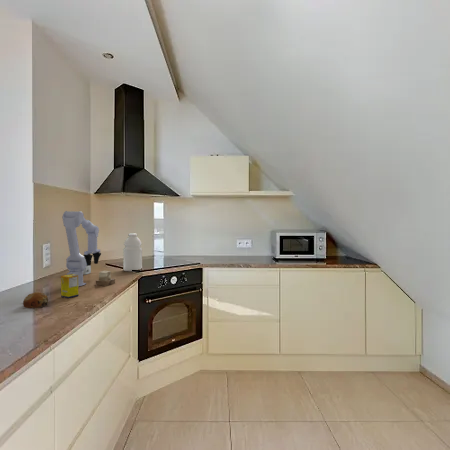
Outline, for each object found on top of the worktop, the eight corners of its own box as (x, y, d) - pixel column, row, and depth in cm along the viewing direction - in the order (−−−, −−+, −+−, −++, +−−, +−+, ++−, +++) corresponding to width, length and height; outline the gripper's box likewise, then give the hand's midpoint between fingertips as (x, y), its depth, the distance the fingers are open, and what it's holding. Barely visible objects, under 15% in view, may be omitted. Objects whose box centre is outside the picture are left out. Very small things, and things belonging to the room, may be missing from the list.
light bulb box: (91, 273, 234) (91, 258, 234) (86, 274, 228) (86, 259, 227) (77, 272, 235) (77, 257, 235) (71, 274, 229) (71, 259, 228)
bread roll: (45, 309, 155) (42, 293, 157) (53, 304, 149) (50, 287, 151) (21, 314, 147) (19, 297, 149) (29, 308, 141) (26, 291, 143)
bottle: (125, 272, 240) (125, 234, 239) (121, 269, 252) (121, 233, 251) (144, 270, 246) (144, 233, 246) (139, 268, 259) (139, 233, 258)
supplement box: (70, 294, 170) (70, 273, 170) (78, 296, 167) (78, 274, 167) (60, 297, 165) (60, 275, 165) (68, 298, 162) (68, 276, 162)
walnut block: (107, 286, 193) (107, 281, 193) (95, 285, 195) (95, 280, 194) (114, 283, 200) (115, 278, 200) (103, 282, 202) (103, 278, 202)
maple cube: (106, 280, 194) (106, 272, 194) (98, 280, 195) (98, 272, 195) (110, 279, 199) (110, 271, 199) (103, 278, 200) (103, 270, 200)
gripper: (91, 244, 204) (91, 266, 205) (104, 243, 218) (104, 263, 219) (81, 244, 206) (81, 265, 206) (95, 242, 220) (95, 262, 220)
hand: (92, 264), depth 212 cm, fingers open, 7 cm apart
